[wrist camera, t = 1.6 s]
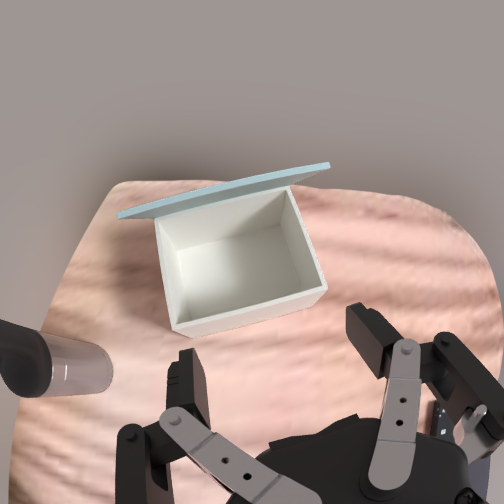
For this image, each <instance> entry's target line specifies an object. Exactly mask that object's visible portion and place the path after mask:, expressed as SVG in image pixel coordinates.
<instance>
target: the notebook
mask: <svg viewBox="0 0 504 504" xmlns="http://www.w3.org/2000/svg"><path fill="white" fill-rule="evenodd" d="M489 469H490V456H489V457H487V458H484V459H478V460H477V461H476V462H474V463H473V464H471V465H470V466H469V467H468V472H469V479H470V483H471V487H472V489H473V490H474V491H475V493H477V494H478V495H479V496H480V497H481V498H483V499H484V500H485V501H486V495H487V489H488V480H489Z"/></svg>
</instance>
